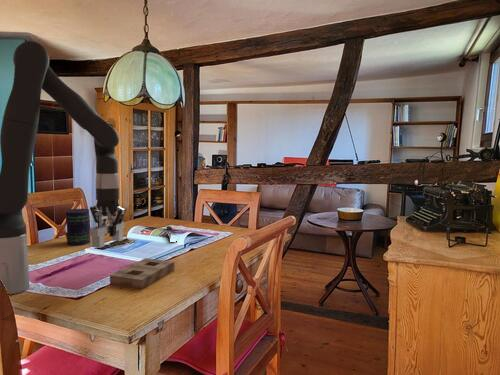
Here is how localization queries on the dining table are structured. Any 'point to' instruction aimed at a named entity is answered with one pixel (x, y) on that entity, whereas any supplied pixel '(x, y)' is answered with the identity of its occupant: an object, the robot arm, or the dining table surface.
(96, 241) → the grey arch block
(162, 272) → the brown block with holes
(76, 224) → the storage jar
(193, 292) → the dining table surface
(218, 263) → the dining table surface
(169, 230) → the hand tool
